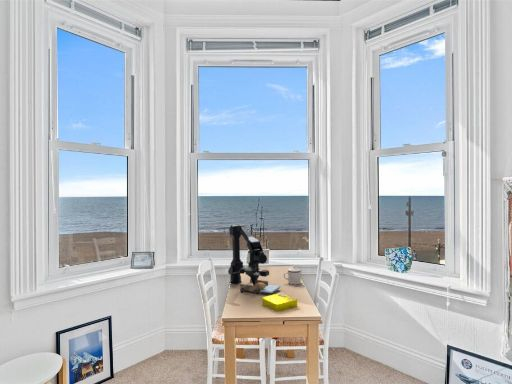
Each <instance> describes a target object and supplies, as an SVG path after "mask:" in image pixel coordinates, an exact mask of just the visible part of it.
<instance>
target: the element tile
mask: <svg viewBox="0 0 512 384" xmlns="http://www.w3.org/2000/svg"><path fill="white" fill-rule="evenodd" d="M261 305H262V306H264V307H265V308H268V309H269V310H272V311H273V312H276V313H280V312H283V311H284V312H285V311H287V310H290V309H294V308H297V307H298V298H296V297H294V296H291V295H288V294H287V293H286V294H285V293H283V292H277V293H274V294H269V295H266V296H262V297H261Z"/></svg>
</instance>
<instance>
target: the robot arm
mask: <svg viewBox="0 0 512 384" xmlns="http://www.w3.org/2000/svg"><path fill="white" fill-rule="evenodd" d="M228 232H229V235H230V237H231V238H232V240H231V241H232V260H231V262H230V267H229V269H228V274H229V275H230V281H229V284H234V285H238V284H241V283H242V275H241V274H243V275H246V276H247V277H250V278H249V279H251V280H252V283H253V286H255V284H256V282H257V280H259V277H267V276H270V271H269V270H268V269H261V268H260V264H263V265H264V264H265V263H266V262H267V261H268V257H267V255H266V254H265V252H264V250H263V249H264V248H263V246H262V244H261V242H260V240H259V239H257V238H255V237H253V235H252V234H251V233H250V231H249V229H248V228H247V225H245V224H238V225H237V224H235V225H231V226H230V227H229V229H228ZM241 236H242V238H244V239H243V240H245V241H246V247H247V248H248V251H247V253H248V254H249V261H248V264H247V266H246V267H245V266H244V262H243V261H242V260H241V252H240V251H241V248H240V244H241V243H240V238H241Z"/></svg>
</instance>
